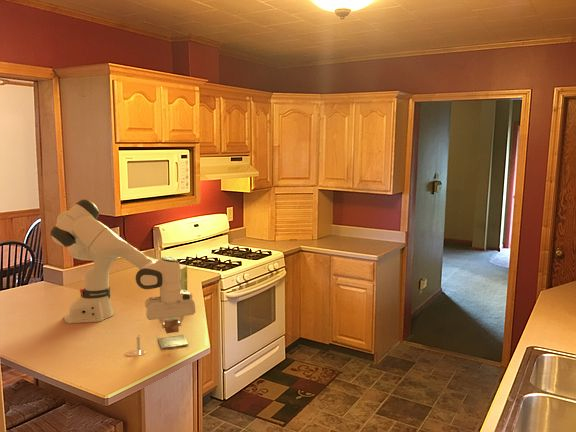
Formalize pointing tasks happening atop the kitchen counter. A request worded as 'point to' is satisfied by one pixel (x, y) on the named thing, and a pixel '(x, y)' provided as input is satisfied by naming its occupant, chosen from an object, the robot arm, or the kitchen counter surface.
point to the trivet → (172, 342)
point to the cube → (171, 325)
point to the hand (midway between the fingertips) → (171, 326)
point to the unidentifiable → (135, 352)
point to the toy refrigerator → (183, 277)
